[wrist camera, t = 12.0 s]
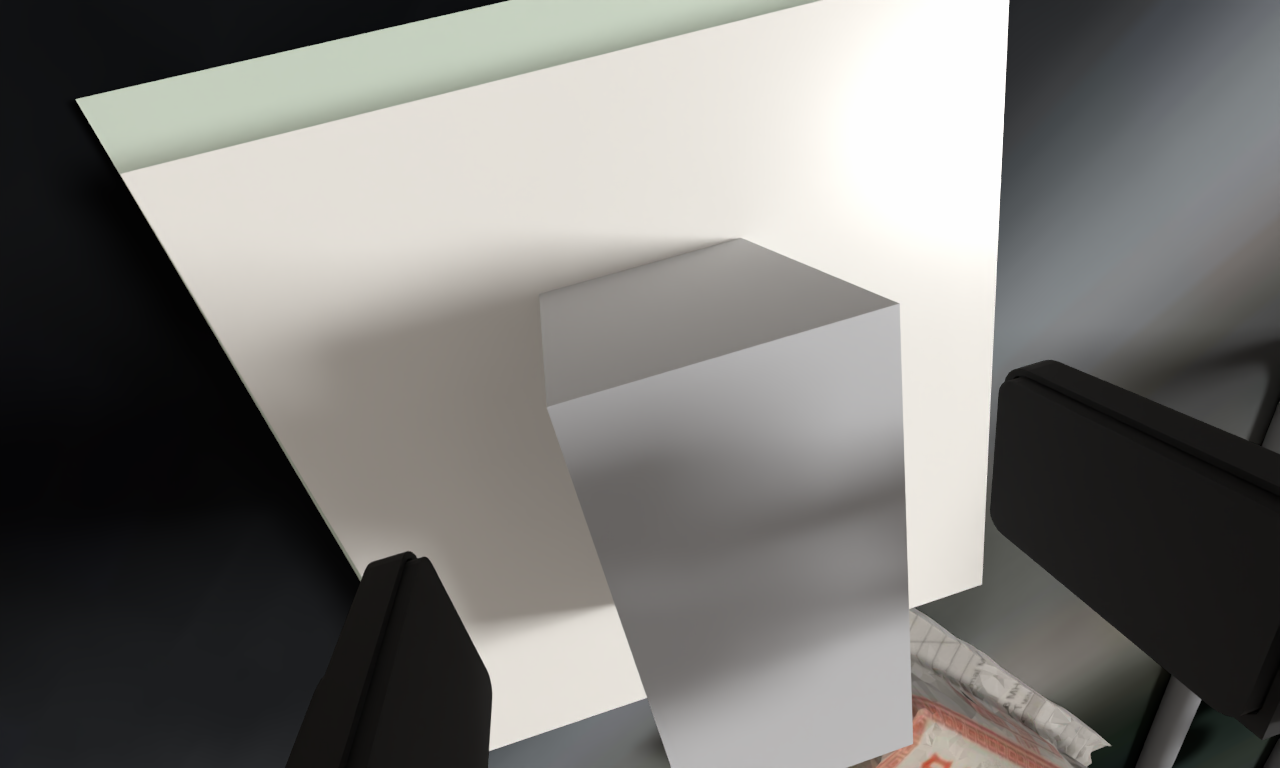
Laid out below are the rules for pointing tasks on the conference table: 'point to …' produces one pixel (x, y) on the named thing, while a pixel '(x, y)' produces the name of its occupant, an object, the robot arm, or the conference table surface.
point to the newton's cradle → (1182, 701)
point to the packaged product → (980, 713)
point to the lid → (645, 360)
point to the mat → (381, 78)
